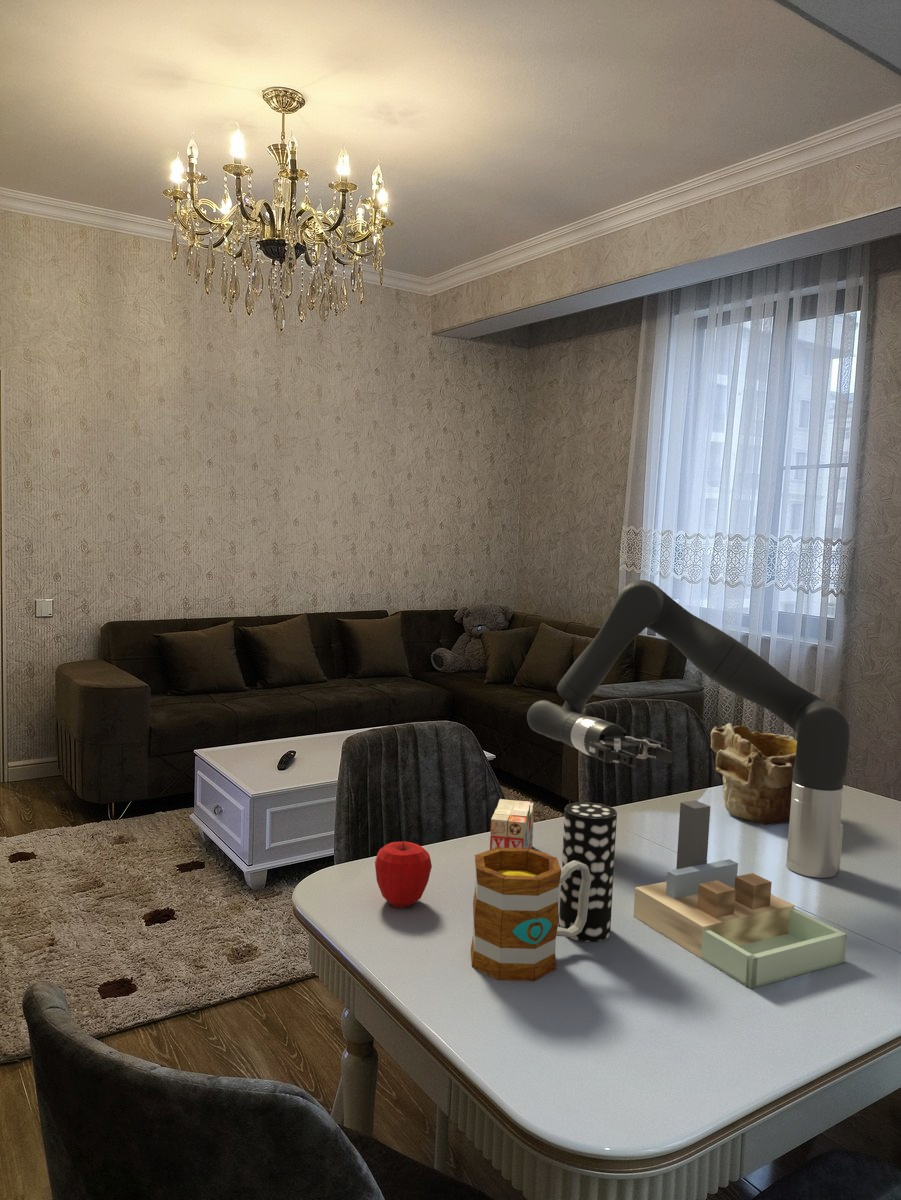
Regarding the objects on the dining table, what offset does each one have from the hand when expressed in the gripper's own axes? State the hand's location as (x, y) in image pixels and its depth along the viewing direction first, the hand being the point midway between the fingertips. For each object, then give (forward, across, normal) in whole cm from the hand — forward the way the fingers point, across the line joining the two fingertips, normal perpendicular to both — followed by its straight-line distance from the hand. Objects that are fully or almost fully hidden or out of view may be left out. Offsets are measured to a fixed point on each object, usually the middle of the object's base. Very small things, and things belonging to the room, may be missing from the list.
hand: (653, 759), depth 161 cm
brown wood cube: (+21, +4, +19) cm, 29 cm away
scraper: (+11, 0, +19) cm, 22 cm away
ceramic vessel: (-21, +53, +24) cm, 62 cm away
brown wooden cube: (+21, -4, +19) cm, 29 cm away
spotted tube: (+10, -21, +24) cm, 33 cm away
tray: (+30, 0, +24) cm, 38 cm away
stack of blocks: (-19, -16, +25) cm, 35 cm away
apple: (-11, -44, +25) cm, 51 cm away
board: (+17, 0, +24) cm, 29 cm away
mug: (+14, -34, +24) cm, 44 cm away
